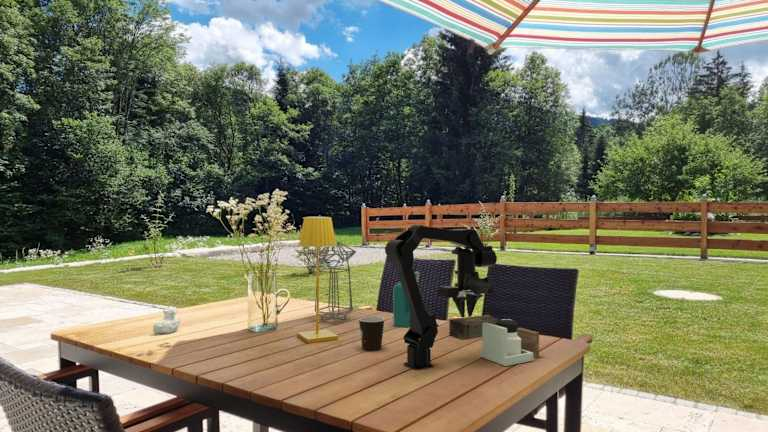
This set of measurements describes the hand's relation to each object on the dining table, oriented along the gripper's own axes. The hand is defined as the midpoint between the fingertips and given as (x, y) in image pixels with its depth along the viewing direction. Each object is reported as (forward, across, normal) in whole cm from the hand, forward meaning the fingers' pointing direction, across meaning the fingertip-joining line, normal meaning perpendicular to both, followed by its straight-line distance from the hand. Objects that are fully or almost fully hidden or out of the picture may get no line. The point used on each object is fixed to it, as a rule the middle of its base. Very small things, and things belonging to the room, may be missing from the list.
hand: (466, 316), depth 158 cm
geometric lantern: (+13, -15, +70) cm, 73 cm away
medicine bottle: (+13, +10, -8) cm, 18 cm away
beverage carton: (+14, +22, +22) cm, 34 cm away
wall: (+13, +19, -8) cm, 24 cm away
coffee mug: (+13, -20, +25) cm, 35 cm away
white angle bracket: (+13, +10, -8) cm, 18 cm away
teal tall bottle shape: (+13, +8, +48) cm, 50 cm away
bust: (+13, -78, +84) cm, 115 cm away
